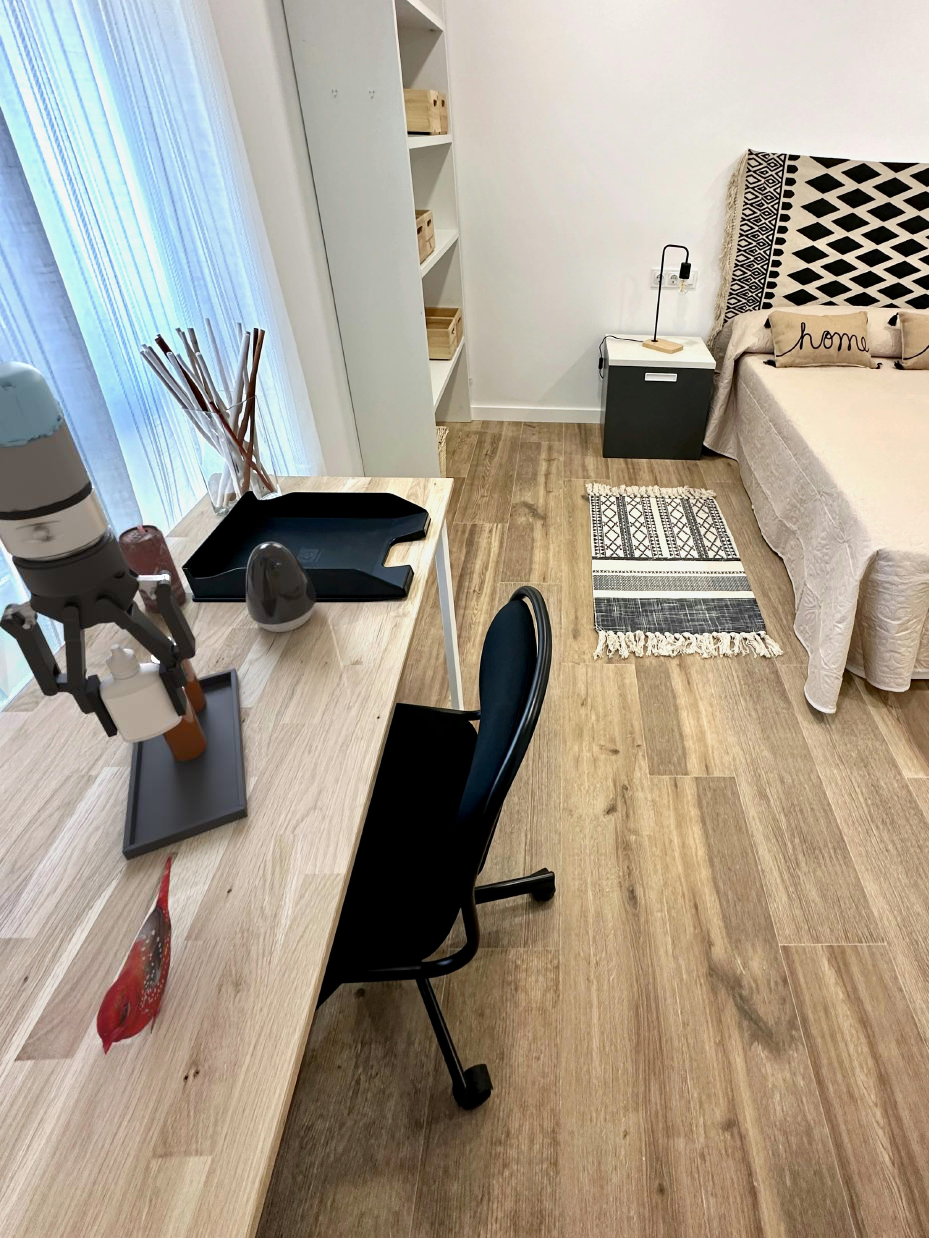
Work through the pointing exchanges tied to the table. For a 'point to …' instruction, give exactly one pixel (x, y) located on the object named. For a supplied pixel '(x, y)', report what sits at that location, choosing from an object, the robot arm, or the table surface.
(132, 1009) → the decorative bird figurine
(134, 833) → the tray
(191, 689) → the amber bottle
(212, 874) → the table surface
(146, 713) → the eye dropper bottle
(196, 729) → the amber bottle
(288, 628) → the dark grey rounded cone
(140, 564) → the can
